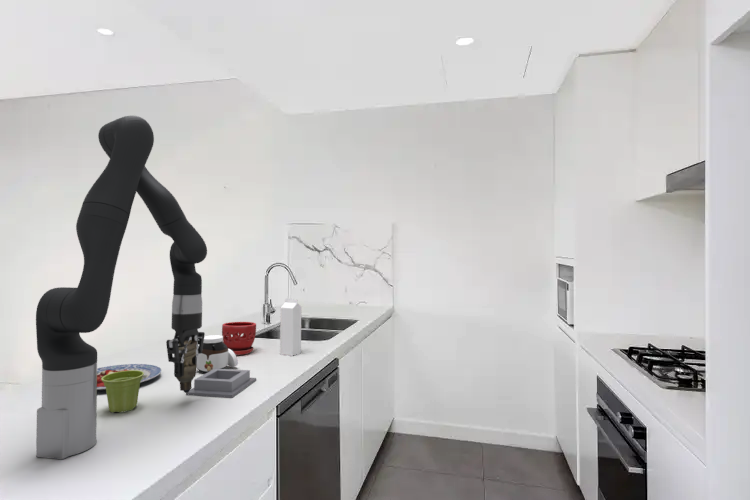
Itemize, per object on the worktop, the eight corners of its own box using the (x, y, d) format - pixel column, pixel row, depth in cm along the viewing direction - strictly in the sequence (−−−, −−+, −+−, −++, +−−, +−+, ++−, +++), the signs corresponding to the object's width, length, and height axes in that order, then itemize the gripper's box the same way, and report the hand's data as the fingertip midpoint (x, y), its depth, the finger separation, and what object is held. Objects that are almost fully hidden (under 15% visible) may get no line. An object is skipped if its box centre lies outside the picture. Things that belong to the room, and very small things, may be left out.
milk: (288, 351, 170) (289, 298, 171) (301, 353, 168) (301, 298, 168) (279, 354, 165) (280, 299, 165) (292, 356, 162) (293, 300, 163)
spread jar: (191, 373, 139) (192, 338, 139) (212, 364, 150) (213, 332, 150) (223, 376, 136) (223, 340, 136) (242, 366, 147) (242, 334, 147)
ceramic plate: (40, 395, 117) (41, 384, 117) (103, 369, 143) (103, 360, 143) (129, 397, 116) (130, 386, 116) (176, 371, 142) (176, 362, 142)
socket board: (232, 397, 116) (232, 384, 116) (185, 395, 118) (185, 381, 118) (256, 380, 132) (256, 368, 132) (215, 378, 134) (215, 366, 134)
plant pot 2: (255, 356, 163) (255, 325, 163) (219, 357, 160) (220, 326, 160) (256, 348, 175) (257, 320, 175) (223, 349, 172) (224, 321, 172)
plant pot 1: (108, 419, 101) (108, 383, 101) (96, 409, 107) (96, 375, 107) (149, 408, 108) (149, 375, 108) (135, 399, 114) (136, 368, 114)
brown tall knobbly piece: (186, 396, 108) (188, 339, 109) (168, 394, 109) (170, 338, 110) (200, 390, 114) (201, 335, 114) (182, 388, 115) (184, 334, 115)
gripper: (183, 314, 105) (182, 382, 104) (214, 308, 119) (212, 368, 118) (156, 314, 106) (155, 380, 105) (190, 307, 120) (188, 366, 120)
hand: (185, 373), depth 112 cm, fingers closed on brown tall knobbly piece, 5 cm apart
